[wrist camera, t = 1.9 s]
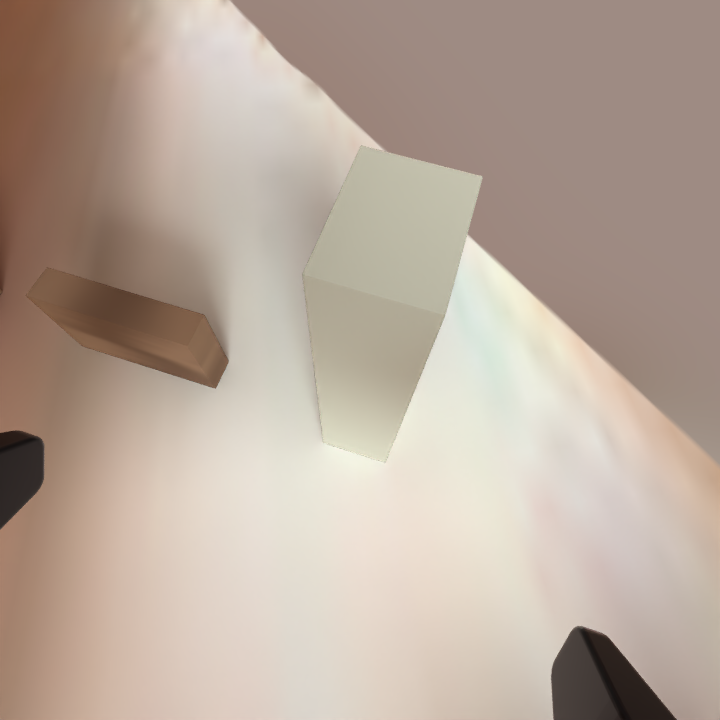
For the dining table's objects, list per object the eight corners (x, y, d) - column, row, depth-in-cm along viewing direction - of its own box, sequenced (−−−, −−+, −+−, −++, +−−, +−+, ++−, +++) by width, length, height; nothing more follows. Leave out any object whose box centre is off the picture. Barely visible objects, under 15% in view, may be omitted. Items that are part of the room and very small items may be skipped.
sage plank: (385, 462, 21) (445, 314, 9) (323, 442, 21) (302, 274, 9) (407, 385, 22) (483, 176, 11) (350, 368, 23) (361, 145, 11)
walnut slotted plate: (228, 362, 22) (204, 314, 18) (215, 388, 22) (187, 346, 18) (-115, 254, 24) (-206, 190, 20) (-137, 276, 24) (-235, 214, 20)
